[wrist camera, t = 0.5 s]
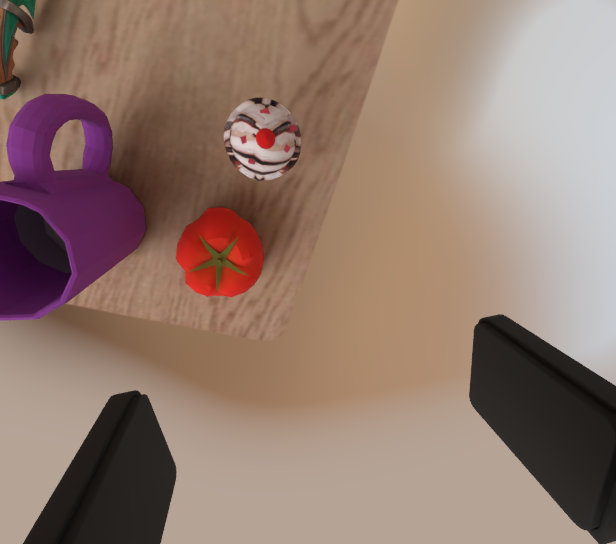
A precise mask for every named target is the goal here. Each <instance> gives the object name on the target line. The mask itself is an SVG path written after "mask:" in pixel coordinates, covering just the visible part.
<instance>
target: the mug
mask: <svg viewBox="0 0 616 544" xmlns="http://www.w3.org/2000/svg"><path fill="white" fill-rule="evenodd" d="M74 119H78V120H81V121H82V125H83V128H84V134H85V143H86V144H85V149H84V153H83V169H79V170H62V171H54V168H53V165H52V162H51V159H50V156H49V155H50V150H51V146H52V142H53V139H54V136H55V134H56V131H57V130H58V129H59V128H60V127H61V126H62V125H63V124H64V123H66V122H67V121H69V120H74ZM112 151H113V139H112V130H111V127H110V124H109V121H108V119H107V116H106V115H105V114H104V112H102V111H101V110H100V109H99V108H98V107H97V106H95V105H94V104H92V103H90V102H88V101H86V100H84V99H81V98H78V97H76V96H73V95H67V94H44V95H41V96H39V97H37V98H35V99H33V100H30V101H28V102H27V103H26V104H25V105H24V106H23V107H22V109H21V110H20V111H19V112H18V113H17V114H16V116H15V118H14V120H13V121H12V123H11V125H10V128H9V134H8V139H7V152H8V159H9V163H10V165H11V168H12V170H13V173H14V175H15V176H14V180H13V181H3V182H0V320H23V319H39V318H41V317H42V316H44V315H46V314H48V313H49V312H51V311H53V310H55V309H56V308H58V307H60V306H62V305H63V304H65V303H67V302H68V301H70V300H71V299H72V298H74V297H75V296H76V295H77V294H79V293H80V292H81V291H83V290H84V289H85V288H86V287H88V286H89V285H90V284H92V283H93V282H94V281H96V280H97V279H98V278H99V277H101V276H102V275H103V274H105V273H106V272H107V271H108V270H110V269H111V268H112V267H114V266H115V265H116V264H117V263H119V262H120V261H121V260H123V259H124V258H125V257H127V256H128V255H129V254H130V253H132V252H133V251H134V250H136V249H137V248H138V246H139V244H140V242H141V240H142V238H143V236H144V234H145V231H146V223H145V216H144V209H143V207H142V205H141V204H140V202H139V201H138V200H137V198H136V197H135V196H134V194H133V193H132V192H131V190H130V189H129V188H128V187H126V186H124V185H122V184H120V183H119V182H115V181H113V180H112V179H111V178H110V176H109V175H108V171H109V168H110V165H111V159H112Z"/></svg>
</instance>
